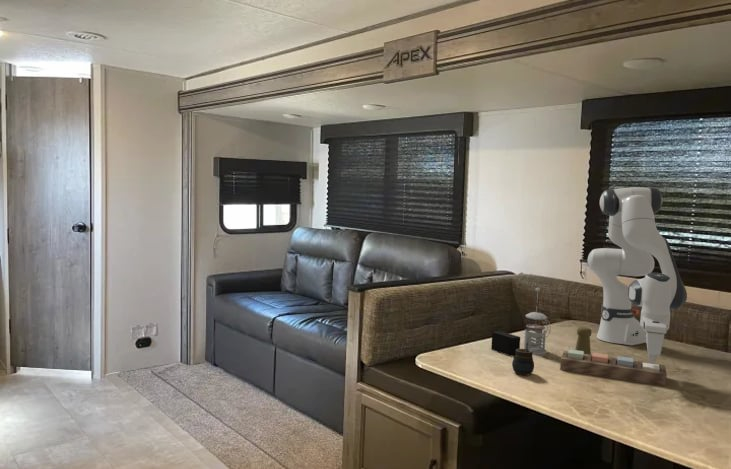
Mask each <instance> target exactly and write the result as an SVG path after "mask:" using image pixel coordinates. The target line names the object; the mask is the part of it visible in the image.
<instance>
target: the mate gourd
mask: <svg viewBox="0 0 731 469" xmlns="http://www.w3.org/2000/svg"><path fill="white" fill-rule="evenodd" d="M527 347H528V343H527V342H526V349H522V348H520V349H516V352H515V353H516V354H515V356H513V359H512V362H511V365H512V369H513V371H514V373H515V374H517V375H520V376H530V375H531V374H532V373H533V372H534V369H535V362H534V358H533V355H534V354H533V352H532V351H531V350H528V349H527Z"/></svg>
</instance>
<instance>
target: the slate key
mask: <svg viewBox="0 0 731 469" xmlns="http://www.w3.org/2000/svg"><path fill="white" fill-rule="evenodd" d="M616 358H617V365H621V366H628V367H633V361H634V358H633V357H626V356H621V355H618V356H617V357H616Z"/></svg>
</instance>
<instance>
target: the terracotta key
mask: <svg viewBox="0 0 731 469" xmlns="http://www.w3.org/2000/svg"><path fill="white" fill-rule="evenodd" d="M591 355H592V361H594V362H601V363H608V357H609V354H606V353H605V354H604V353H599V352H592V354H591Z"/></svg>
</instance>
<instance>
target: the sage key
mask: <svg viewBox="0 0 731 469" xmlns="http://www.w3.org/2000/svg"><path fill="white" fill-rule="evenodd" d="M568 358H574V359H581V360H583V358H584V351H579V350H575V349H570V348H569V349H568Z"/></svg>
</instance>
